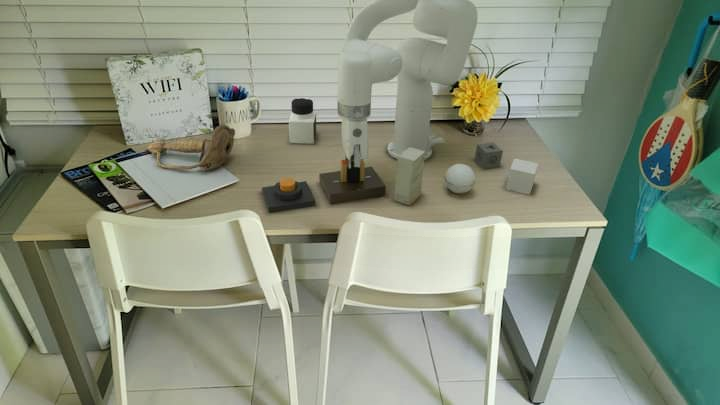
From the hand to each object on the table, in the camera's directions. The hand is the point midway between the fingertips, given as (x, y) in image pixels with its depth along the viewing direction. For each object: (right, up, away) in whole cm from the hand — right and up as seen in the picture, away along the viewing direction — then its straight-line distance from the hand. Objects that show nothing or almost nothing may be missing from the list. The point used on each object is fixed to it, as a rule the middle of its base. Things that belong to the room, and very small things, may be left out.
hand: (352, 177), depth 125 cm
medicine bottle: (-15, +13, +25) cm, 32 cm away
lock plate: (0, -3, +2) cm, 4 cm away
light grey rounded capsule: (+26, -4, +2) cm, 27 cm away
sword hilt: (-45, +5, +13) cm, 47 cm away
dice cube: (+37, +4, +16) cm, 40 cm away
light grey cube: (+43, -2, +6) cm, 43 cm away
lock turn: (0, 0, 0) cm, 1 cm away
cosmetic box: (+13, -5, 0) cm, 14 cm away
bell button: (-15, -3, -4) cm, 16 cm away
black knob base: (-15, -5, -3) cm, 16 cm away
